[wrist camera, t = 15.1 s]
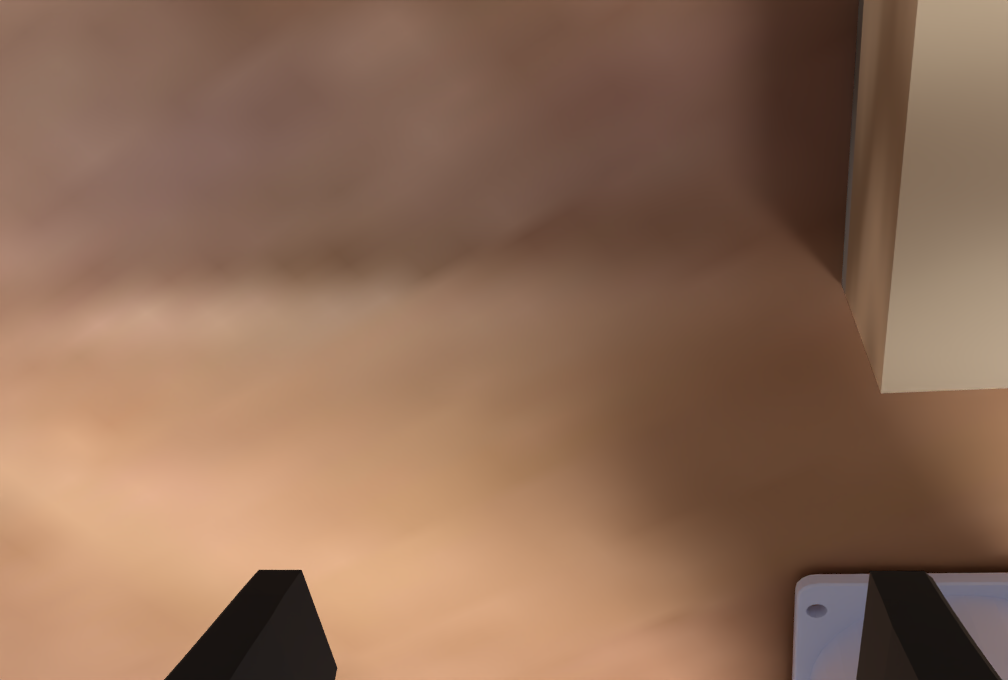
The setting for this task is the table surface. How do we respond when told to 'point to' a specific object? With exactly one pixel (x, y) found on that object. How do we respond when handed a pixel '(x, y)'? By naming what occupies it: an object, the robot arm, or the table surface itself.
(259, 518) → the table surface
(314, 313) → the table surface
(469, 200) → the table surface
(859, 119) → the block
